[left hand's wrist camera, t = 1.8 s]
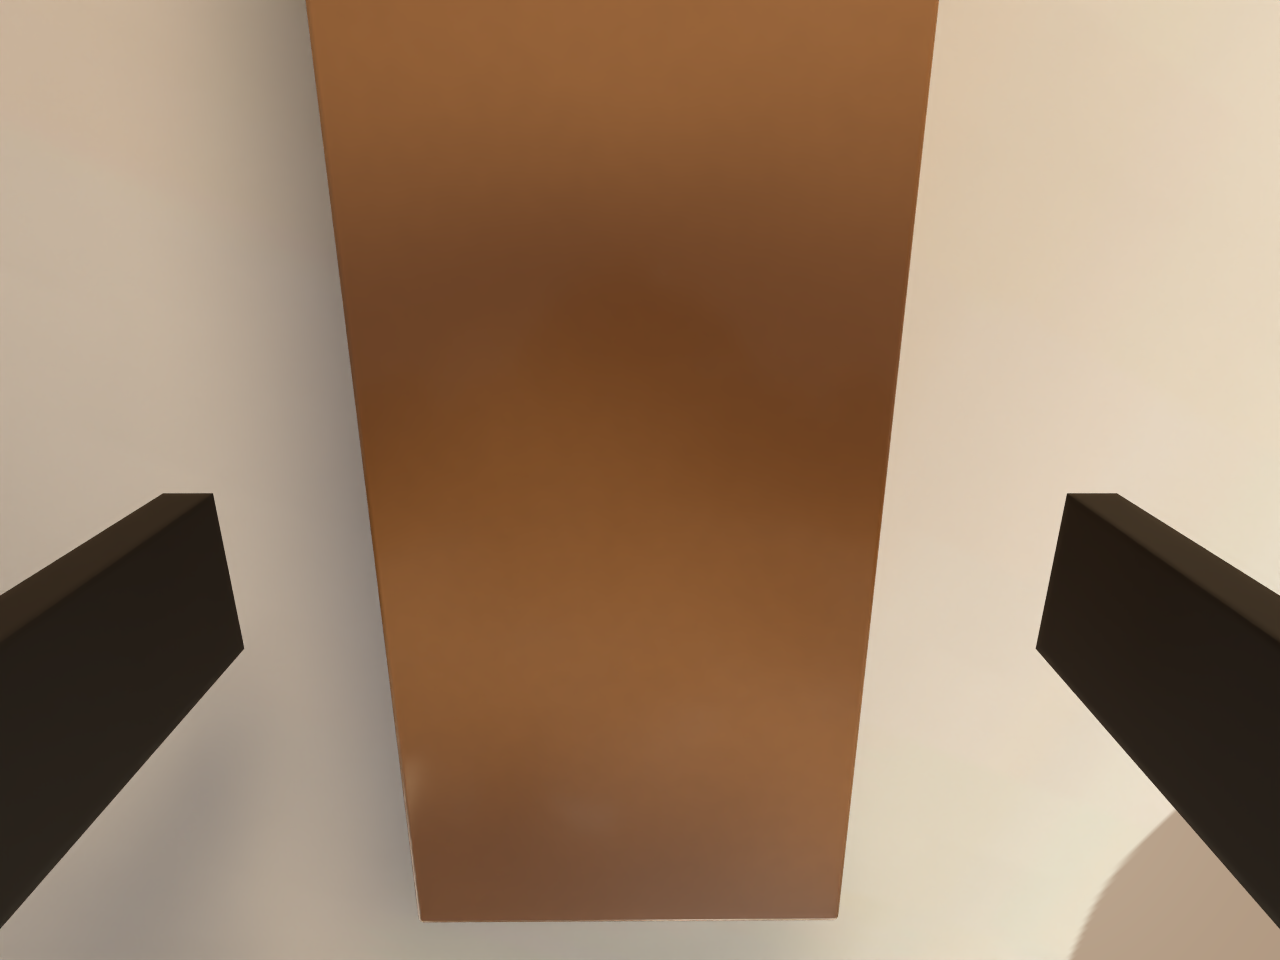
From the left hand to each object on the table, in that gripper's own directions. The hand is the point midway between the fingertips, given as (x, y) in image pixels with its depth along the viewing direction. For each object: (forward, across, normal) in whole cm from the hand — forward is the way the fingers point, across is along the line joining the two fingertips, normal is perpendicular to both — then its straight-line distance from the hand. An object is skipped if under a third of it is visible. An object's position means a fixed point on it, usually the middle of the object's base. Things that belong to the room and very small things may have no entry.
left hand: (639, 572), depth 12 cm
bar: (+6, 0, -8) cm, 11 cm away
